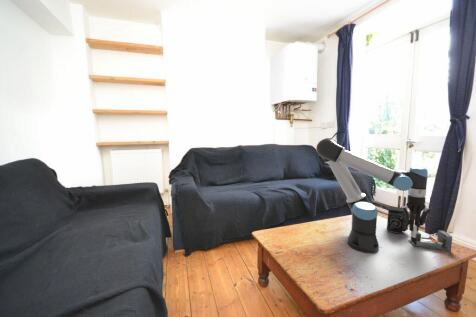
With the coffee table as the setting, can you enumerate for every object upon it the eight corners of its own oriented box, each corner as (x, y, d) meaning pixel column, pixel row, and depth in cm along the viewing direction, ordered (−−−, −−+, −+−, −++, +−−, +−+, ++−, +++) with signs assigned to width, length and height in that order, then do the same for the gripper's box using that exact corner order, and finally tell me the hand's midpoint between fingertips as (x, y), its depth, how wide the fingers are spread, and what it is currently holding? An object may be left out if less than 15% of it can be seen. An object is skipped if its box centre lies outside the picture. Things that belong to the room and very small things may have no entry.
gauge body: (414, 247, 116) (416, 233, 115) (408, 240, 122) (409, 227, 121) (450, 251, 111) (452, 236, 110) (442, 244, 118) (443, 230, 117)
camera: (407, 237, 127) (409, 213, 125) (386, 232, 133) (388, 209, 131) (407, 230, 135) (409, 208, 133) (387, 226, 141) (388, 204, 140)
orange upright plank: (435, 247, 113) (435, 241, 113) (427, 240, 120) (428, 235, 119) (438, 247, 113) (439, 241, 112) (431, 241, 119) (431, 235, 119)
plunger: (415, 243, 117) (416, 233, 116) (412, 240, 120) (413, 230, 120) (433, 245, 115) (434, 235, 114) (429, 242, 118) (430, 232, 117)
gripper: (405, 196, 114) (402, 238, 116) (435, 198, 110) (431, 241, 113) (399, 193, 121) (396, 232, 124) (426, 194, 117) (423, 234, 120)
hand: (413, 236), depth 118 cm, fingers closed
